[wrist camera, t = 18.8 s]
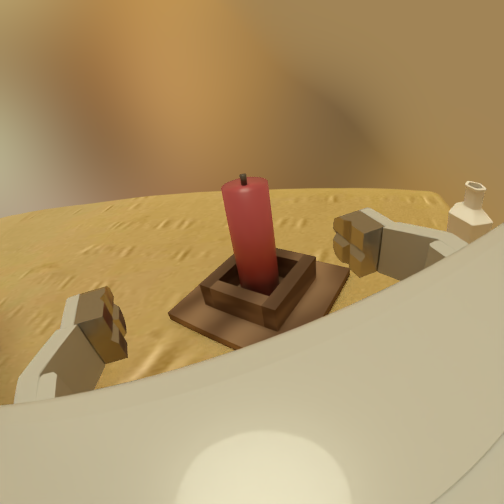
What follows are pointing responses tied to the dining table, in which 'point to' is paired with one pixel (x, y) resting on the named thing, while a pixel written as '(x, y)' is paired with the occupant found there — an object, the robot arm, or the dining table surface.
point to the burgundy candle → (252, 233)
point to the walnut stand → (261, 301)
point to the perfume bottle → (469, 215)
